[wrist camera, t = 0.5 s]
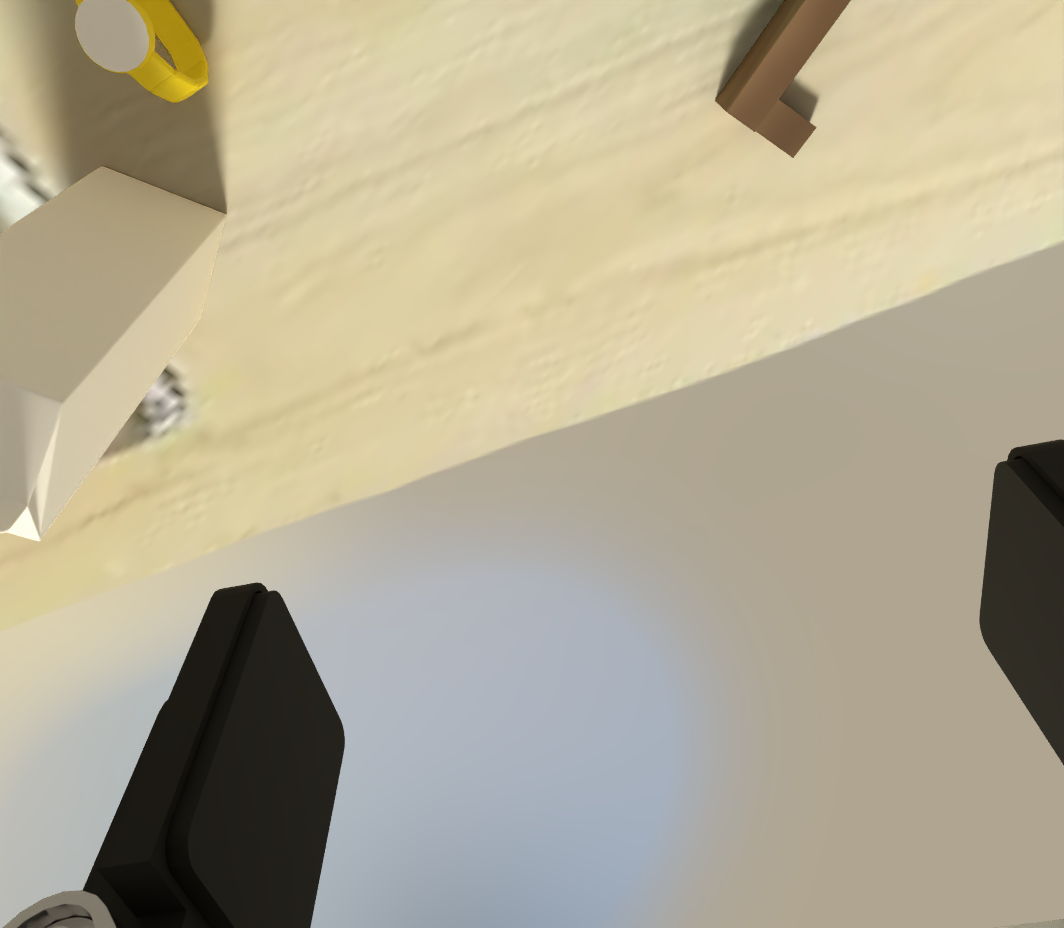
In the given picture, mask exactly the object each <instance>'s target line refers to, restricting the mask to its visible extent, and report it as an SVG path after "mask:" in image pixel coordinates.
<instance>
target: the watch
mask: <svg viewBox="0 0 1064 928" xmlns="http://www.w3.org/2000/svg"><path fill="white" fill-rule="evenodd" d="M75 1H76V3H77V5H78V9H77V12H76V15H75V31H76V35H77V38H78V41H79V43H80V45H81V47H82V49H83V50H84V52H85V53H86V55H87V56H88V57H89V58H90V59H91V60H92V61H93V62H94V63H95V64H97V65H99V66H100V67H102V68H104V69H105V70H107V71H111V72H115V73H128V74H129V75H130V76H131V77H133V78H134V79H135V80H136V81H137V82H138V83H140V84H141V85H142V86H143V87H144V88H145V89H146V90H148V91H150V92H151V93H153V94H155V95H157V96H159V97H161V98H163V99H165V100H167V101H169V102H172V103H177V102H180V101H182V100H185V99H187V98H188V97H190V96H191V95H192V94H194V93H195V92H197V91H198V90H200V89H201V88H202V87H204V86H205V85H207V83H208V64H207V60H206V58H205V55H204V53H203V50H202V48H201V45H200V43H199V40H198V39H197V38H196V37H195V35H194V34H193V33H192V31H191V30H190V28H189V27H188V26H187V24H186V23H185V22H184V20H183V19H182V17H181V16H180V15H179V13H178V12H177V11H176V9H175V8H174V6H173V5H172V4H171V2H170V1H169V0H75ZM155 34H156V35H157V37H158V38H159V39H160V41H161V42H162V43H163V45H164V46H165V47H166V49H167V50H168V51H169V53H170V54H171V56H172V59H173V61H174V64H175V66H176V69H177V70H175V69H173V67H171V66H170V65H169V64H168V63H167V62H166V61H165V60H164V59H163V58H162V57H161V56H160V55H158V54H157V53H156V52H155V51H154V50H155Z"/></svg>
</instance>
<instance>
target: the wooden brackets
mask: <svg viewBox="0 0 1064 928" xmlns="http://www.w3.org/2000/svg"><path fill="white" fill-rule="evenodd" d="M850 1H851V0H784V2H783V3H782V5H781V6H780V8H779V9H778V11H777V12H776V13H775V15H774V16H773V18H772V19H771V21H770V22H769V24H768V25H767V27H766V28H765V29H764V31H763V32H762V34H761V35H760V37H759V38H758V40H757V41H756V42H755V44H754V45H753V47H752V48H751V50H750V51H749V53H748V54H747V55H746V57H745V58H744V60H743V61H742V63H741V64H740V66H739V67H738V68H737V70H736V71H735V73H734V74H733V76H732V77H731V79H730V80H729V81H728V83H727V84H726V86H725V87H724V89H723V90H722V92H721V93H720V95H719V96H718V97H717V99H716V100H715V101H716V102H717V103H718V104H719V105H720V106H721V107H722V108H723V109H724V110H725V111H726V112H728V113H729V114H730V115H732V116H733V117H734V118H736V119H737V120H739V121H740V122H741V123H743V124H744V125H746V126H747V127H748V128H750V129H751V130H753V131H754V132H755V131H756V132H758V133H759V134H760V135H762V136H763V137H765V138H766V139H767V140H769V141H770V142H772V143H773V144H774V145H776V146H777V147H779V148H780V149H781V150H783V151H784V152H786V153H787V154H788V155H790V156H791V157H792V158H794V156H795V155H796V154H797V152H798V151H799V150H800V148H801V147H802V146H803V144H804V143H805V142H806V140H807V139H808V138H809V137H810V135H811V134H812V133H813V131H814V130H815V129H816V127H815V126H814V125H812V124H811V123H810V122H808V121H807V120H806V119H804V118H803V117H802V116H800V115H799V114H798V113H796V112H795V111H794V110H792V109H791V108H790V107H788V106H787V105H785V104H784V103H783V102H781V101H780V100H779V98H780V97H781V96H782V94H783V93H784V91H785V90H786V89H787V87H788V86H789V85H790V83H791V82H792V80H793V79H794V78H795V76H796V75H797V74H798V72H799V71H800V69H801V68H802V67H803V65H804V64H805V63H806V61H807V60H808V58H809V57H810V56H811V54H812V53H813V52H814V50H815V49H816V47H817V46H818V45H819V43H820V42H821V41H822V39H823V38H824V36H825V35H826V34H827V32H828V31H829V30H830V28H831V27H832V25H833V24H834V23H835V21H836V20H837V19H838V17H839V16H840V14H841V13H842V12H843V10H844V9H845V8H846V6H847V5H848V3H849V2H850Z"/></svg>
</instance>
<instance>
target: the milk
mask: <svg viewBox="0 0 1064 928" xmlns="http://www.w3.org/2000/svg"><path fill="white" fill-rule="evenodd" d="M225 220H226V214H224V213H222V212H219V211H216V210H214V209H211V208H209V207H206V206H204V205H201V204H198V203H196V202H193V201H191V200H188V199H186V198H183V197H181V196H178V195H175V194H173V193H170V192H168V191H165V190H163V189H160V188H157V187H155V186H152V185H150V184H147V183H145V182H142V181H140V180H137V179H134V178H132V177H129V176H127V175H124V174H122V173H119V172H116V171H114V170H111V169H109V168H106V167H103V166H101V167H99V168H97V169H96V170H94V171H93V172H91V173H90V174H88V175H87V176H85V177H84V178H82V179H81V180H79V181H78V182H76V183H75V184H73V185H72V186H70V187H69V188H67V189H66V190H64V191H63V192H61V193H60V194H58V195H57V196H55V197H54V198H52V199H51V200H49V201H48V202H46V203H45V204H43V205H42V206H40V207H39V208H37V209H36V210H34V211H33V212H31V213H30V214H28V215H27V216H25V217H24V218H22V219H21V220H19V221H18V222H16V223H15V224H13V225H12V226H10V227H9V228H7V229H6V230H4V231H3V232H1V233H0V534H1V533H4V532H7V533H11V534H14V535H18V536H21V537H25V538H28V539H32V540H35V541H40V540H41V539H42V538H43V536H44V535H45V534H46V532H47V531H48V529H49V528H50V527H51V525H52V524H53V523H54V521H55V520H56V518H57V517H58V516H59V514H60V513H61V511H62V510H63V509H64V507H65V506H66V505H67V503H68V502H69V500H70V499H71V498H72V496H73V495H74V493H75V492H76V491H77V489H78V488H79V487H80V485H81V484H82V482H83V481H84V480H85V478H86V477H87V475H88V474H89V473H90V471H91V470H92V469H93V467H94V466H95V464H96V463H97V462H98V460H99V459H100V457H101V456H102V455H103V453H104V452H105V450H106V449H107V448H108V446H109V445H110V444H111V442H112V441H113V439H114V438H115V437H116V435H117V434H118V432H119V431H120V430H121V428H122V427H123V426H124V424H125V423H126V421H127V420H128V419H129V417H130V416H131V414H132V413H133V412H134V410H135V409H136V408H137V406H138V405H139V403H140V402H141V401H142V399H143V398H144V396H145V395H146V394H147V392H148V391H149V390H150V388H151V387H152V385H153V384H154V383H155V381H156V380H157V378H158V377H159V376H160V374H161V373H162V371H163V370H164V369H165V367H166V366H167V365H168V363H169V362H170V360H171V359H172V358H173V356H174V355H175V353H176V352H177V351H178V349H179V348H180V347H181V345H182V344H183V342H184V341H185V340H186V338H187V337H188V335H189V334H190V333H191V331H192V330H193V329H194V327H195V326H196V324H197V323H198V322H199V320H200V319H201V316H202V312H203V308H204V304H205V300H206V296H207V292H208V288H209V284H210V280H211V276H212V272H213V268H214V264H215V260H216V256H217V252H218V248H219V244H220V240H221V236H222V232H223V228H224V224H225Z"/></svg>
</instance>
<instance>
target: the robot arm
mask: <svg viewBox="0 0 1064 928" xmlns="http://www.w3.org/2000/svg"><path fill="white" fill-rule="evenodd" d="M980 628H981V633H982V636H983V639H984V641H985V643H986V645H987V647H988V649H989V650H990V652H991V654H992V655H993V656H994V658H995V660H996V661H997V663H998V664H999V666H1000V667H1001V669H1002V671H1003V672H1004V674H1005V675H1006V677H1007V678H1008V680H1009V681H1010V683H1011V684H1012V686H1013V687H1014V689H1015V691H1016V692H1017V694H1018V695H1019V697H1020V698H1021V700H1022V701H1023V703H1024V704H1025V706H1026V708H1027V709H1028V711H1029V712H1030V714H1031V715H1032V717H1033V718H1034V720H1035V721H1036V723H1037V724H1038V726H1039V727H1040V729H1041V731H1042V732H1043V734H1044V735H1045V737H1046V739H1047V740H1048V742H1049V743H1050V745H1051V746H1052V748H1053V749H1054V751H1055V752H1056V754H1057V756H1058V757H1059V758H1060V760H1061V762H1062V763H1063V765H1064V440H1055V441H1049V442H1044V443H1039V444H1033V445H1027V446H1022V447H1016V448H1014V449H1012V450H1011V452H1010V453H1009V455H1008V460H1007V461H1003V462H1000V463H998V464H997V466H996V469H995V473H994V483H993V492H992V501H991V511H990V521H989V530H988V540H987V550H986V559H985V569H984V578H983V588H982V598H981V608H980ZM344 744H345V737H344V730H343V725H342V722H341V720H340V718H339V716H338V714H337V711H336V709H335V707H334V705H333V703H332V701H331V699H330V697H329V695H328V692H327V690H326V688H325V686H324V684H323V682H322V680H321V678H320V676H319V674H318V672H317V670H316V667H315V665H314V663H313V661H312V659H311V657H310V655H309V653H308V651H307V649H306V646H305V644H304V642H303V640H302V638H301V636H300V634H299V632H298V630H297V628H296V626H295V623H294V621H293V619H292V617H291V615H290V613H289V611H288V609H287V607H286V605H285V603H284V601H283V598H282V597H281V595H280V594H279V593H278V592H277V591H268V590H267V589H266V587H265V586H264V585H262V584H261V583H251V584H247V585H241V586H235V587H229V588H223V589H219V590H217V591H215V592H214V594H213V596H212V597H211V600H210V602H209V604H208V607H207V609H206V612H205V614H204V616H203V618H202V621H201V623H200V626H199V628H198V631H197V633H196V635H195V637H194V640H193V642H192V644H191V647H190V649H189V651H188V654H187V656H186V659H185V661H184V663H183V666H182V668H181V671H180V673H179V675H178V677H177V680H176V682H175V685H174V687H173V689H172V692H171V694H170V696H169V699H168V700H167V701H166V702H165V703H164V705H163V706H162V708H161V710H160V711H159V714H158V716H157V718H156V720H155V723H154V725H153V727H152V730H151V732H150V734H149V737H148V739H147V741H146V744H145V746H144V748H143V751H142V753H141V755H140V758H139V760H138V762H137V765H136V767H135V769H134V772H133V774H132V777H131V779H130V781H129V783H128V786H127V788H126V791H125V793H124V795H123V797H122V800H121V802H120V804H119V807H118V809H117V811H116V814H115V816H114V818H113V821H112V823H111V825H110V828H109V830H108V832H107V835H106V837H105V839H104V842H103V844H102V846H101V849H100V851H99V853H98V856H97V858H96V860H95V863H94V865H93V867H92V870H91V872H90V874H89V877H88V879H87V882H86V884H85V887H84V888H83V891H82V890H81V891H67V892H66V891H65V892H61V893H58V894H55V895H52V896H50V897H47V898H44V899H42V900H40V901H38V902H37V903H35V904H33V905H32V906H30V907H28V908H27V909H25V910H23V911H22V912H20V913H19V914H18V915H17V916H16V917H15V918H13V919H12V920H11V921H10V922H9V923H8V924H7V925H5V926H4V927H3V928H310V926H311V921H312V916H313V911H314V905H315V900H316V895H317V889H318V884H319V879H320V874H321V869H322V863H323V857H324V853H325V848H326V842H327V837H328V832H329V826H330V821H331V816H332V811H333V806H334V800H335V795H336V789H337V785H338V779H339V774H340V769H341V764H342V758H343V752H344V746H345V745H344ZM997 928H1064V919H1060V920H1052V921H1044V922H1037V923H1028V924H1020V925H1013V926H1005V927H997Z"/></svg>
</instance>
